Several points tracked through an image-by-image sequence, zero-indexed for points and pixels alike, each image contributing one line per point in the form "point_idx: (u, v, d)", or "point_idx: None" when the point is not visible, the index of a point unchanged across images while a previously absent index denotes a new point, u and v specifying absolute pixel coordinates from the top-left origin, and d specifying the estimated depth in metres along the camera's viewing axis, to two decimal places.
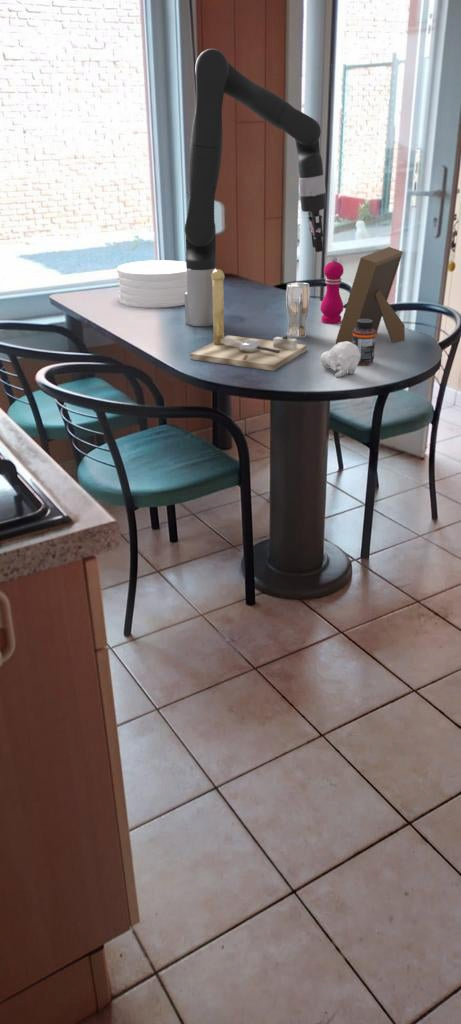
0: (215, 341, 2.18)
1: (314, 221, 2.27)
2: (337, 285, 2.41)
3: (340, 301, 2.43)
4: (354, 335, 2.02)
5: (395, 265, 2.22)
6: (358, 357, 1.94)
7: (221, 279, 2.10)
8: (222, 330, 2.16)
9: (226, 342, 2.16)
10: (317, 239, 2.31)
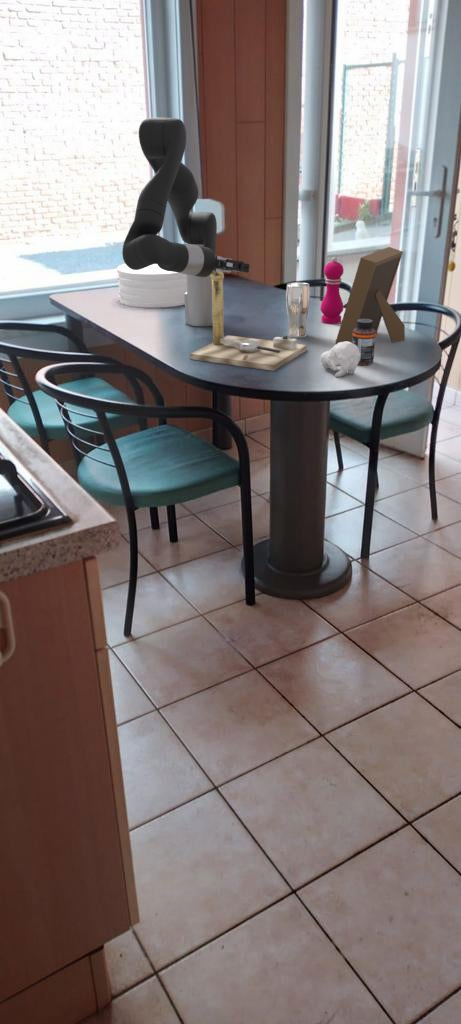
0: (215, 341, 2.17)
1: None
2: (337, 285, 2.41)
3: (340, 301, 2.43)
4: (354, 335, 2.02)
5: (395, 265, 2.22)
6: (358, 357, 1.94)
7: (221, 279, 2.10)
8: (221, 330, 2.16)
9: (226, 342, 2.16)
10: None
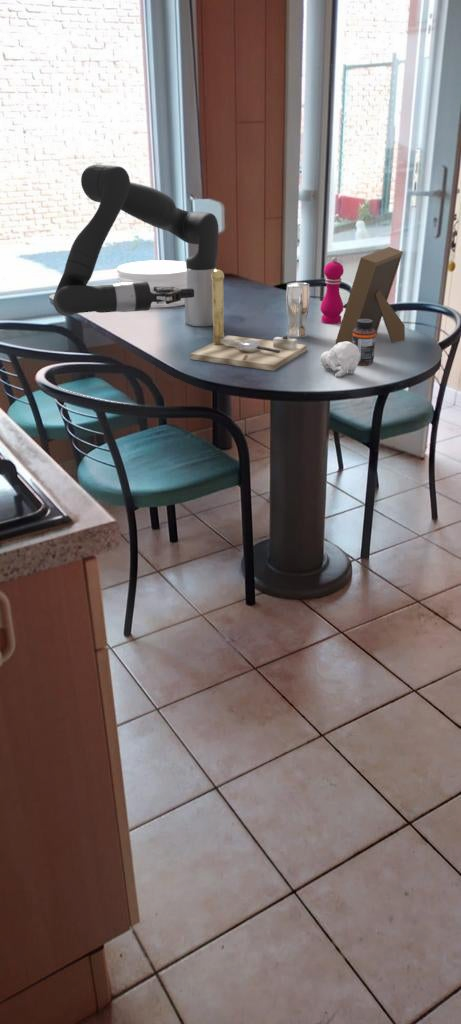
0: (215, 341, 2.17)
1: None
2: (337, 285, 2.41)
3: (340, 301, 2.43)
4: (354, 335, 2.02)
5: (395, 265, 2.22)
6: (358, 357, 1.94)
7: (221, 279, 2.10)
8: (222, 330, 2.16)
9: (226, 342, 2.16)
10: None
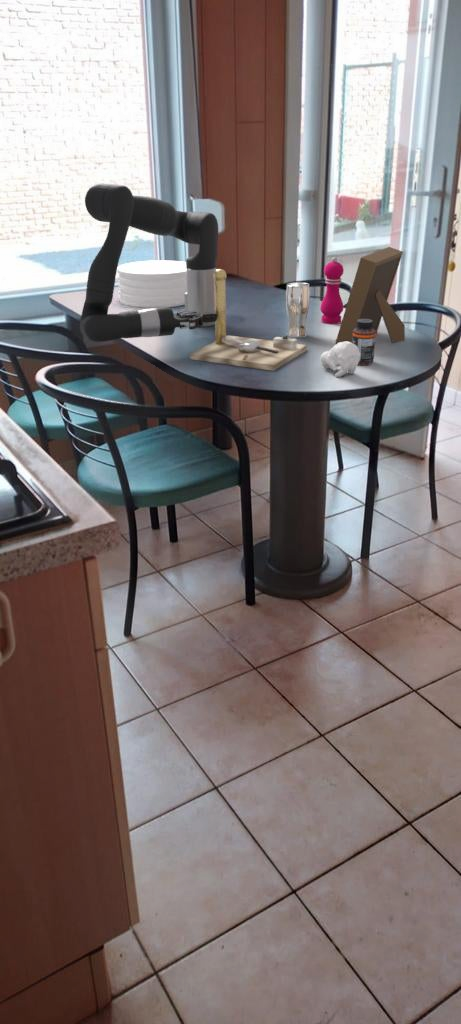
0: (217, 340, 2.18)
1: None
2: (337, 285, 2.41)
3: (340, 301, 2.43)
4: (354, 335, 2.02)
5: (395, 265, 2.22)
6: (358, 357, 1.94)
7: (223, 279, 2.10)
8: (224, 330, 2.17)
9: (227, 342, 2.16)
10: None
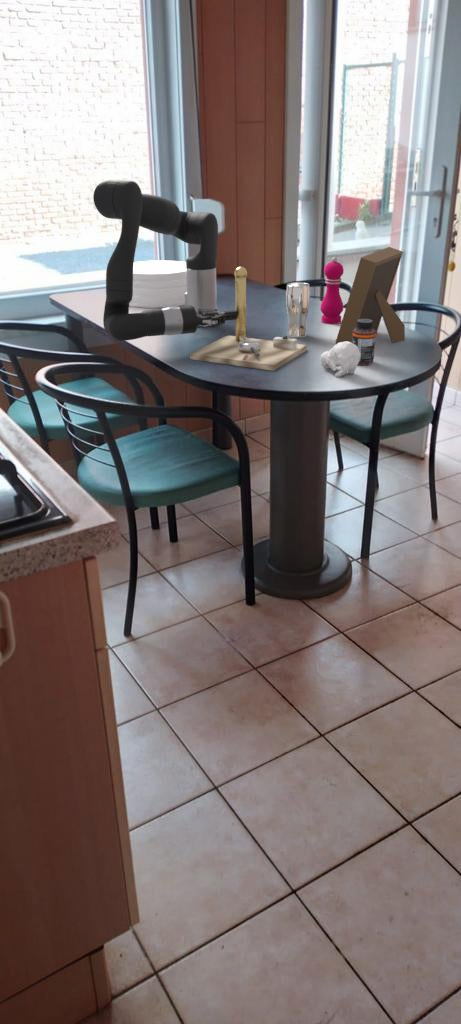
0: None
1: None
2: (337, 285, 2.41)
3: (340, 301, 2.43)
4: (354, 335, 2.02)
5: (395, 265, 2.22)
6: (358, 357, 1.94)
7: (240, 277, 2.13)
8: (241, 327, 2.19)
9: (240, 339, 2.19)
10: None
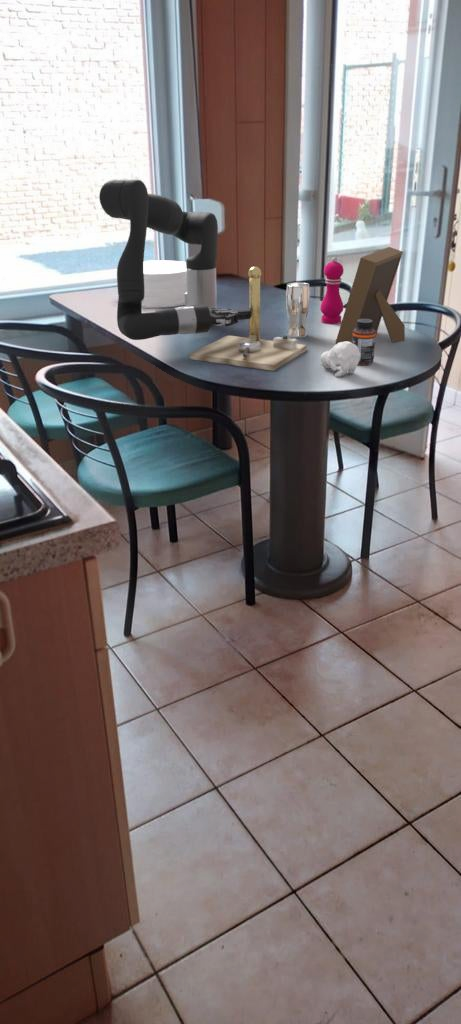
0: (249, 336, 2.22)
1: None
2: (337, 285, 2.41)
3: (340, 301, 2.43)
4: (354, 335, 2.02)
5: (395, 265, 2.22)
6: (358, 357, 1.94)
7: (252, 276, 2.13)
8: (253, 327, 2.19)
9: None
10: None
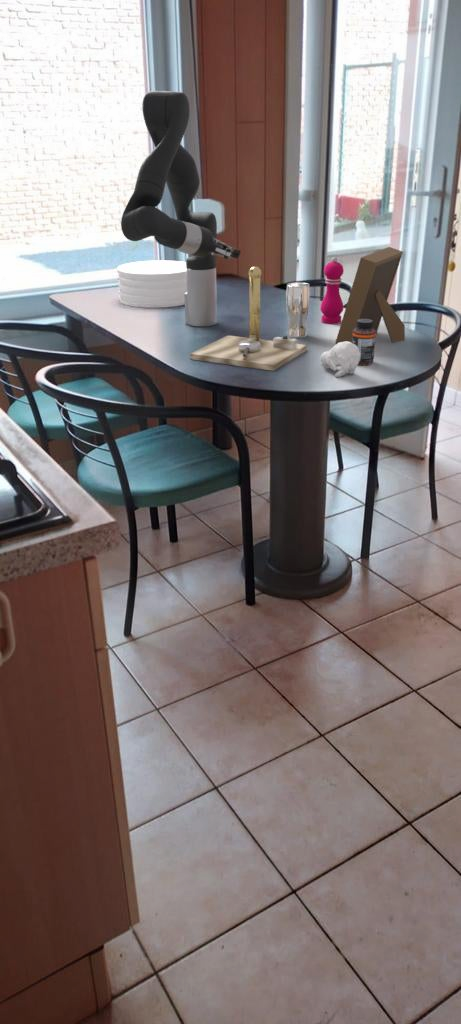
0: (249, 336, 2.22)
1: None
2: (337, 285, 2.41)
3: (340, 301, 2.43)
4: (354, 335, 2.02)
5: (395, 265, 2.22)
6: (358, 357, 1.94)
7: (252, 276, 2.13)
8: (253, 327, 2.19)
9: None
10: None
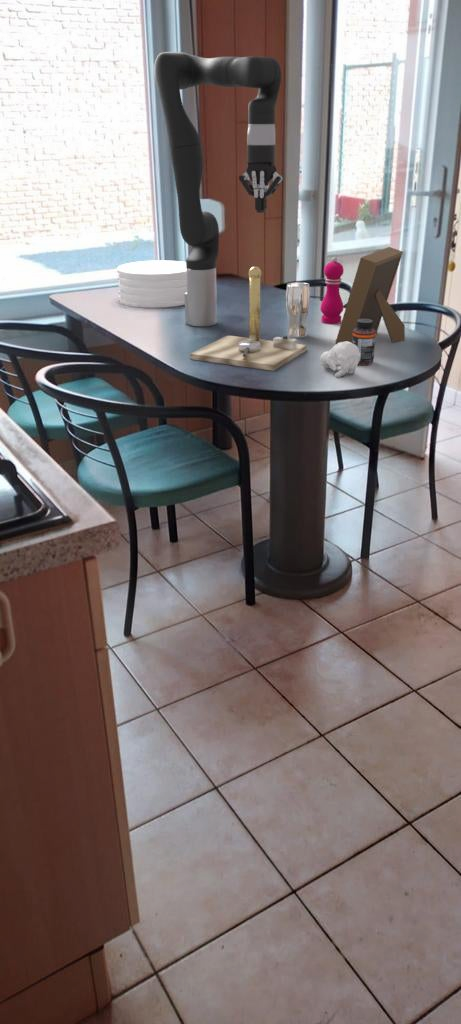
0: (249, 336, 2.22)
1: None
2: (337, 285, 2.41)
3: (340, 301, 2.43)
4: (354, 335, 2.02)
5: (395, 265, 2.22)
6: (358, 357, 1.94)
7: (252, 276, 2.13)
8: (253, 327, 2.19)
9: None
10: None
